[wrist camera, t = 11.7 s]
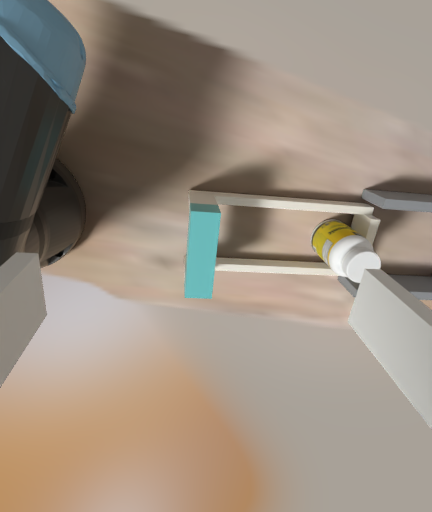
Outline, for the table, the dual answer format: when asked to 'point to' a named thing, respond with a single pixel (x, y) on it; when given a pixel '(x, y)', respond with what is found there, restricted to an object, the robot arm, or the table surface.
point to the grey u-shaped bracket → (415, 285)
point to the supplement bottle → (344, 249)
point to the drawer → (205, 261)
